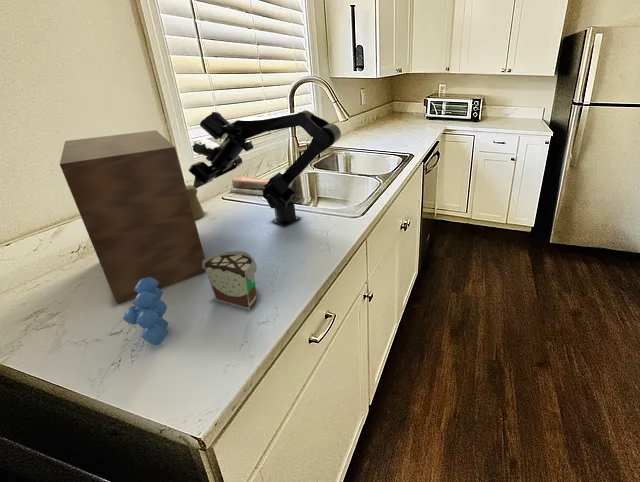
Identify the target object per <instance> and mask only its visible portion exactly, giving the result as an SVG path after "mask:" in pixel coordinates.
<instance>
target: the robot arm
mask: <svg viewBox="0 0 640 482" xmlns="http://www.w3.org/2000/svg"><path fill="white" fill-rule="evenodd" d="M199 126H200V127H201V128H202V129H203V130H204V131H205V132H206V133H207V134H208V135H210V136H211V137H212V138H213V139H214V140H215V141H216V140H220V141H222V140H223V141H222V142H221V144H220V145H219V144H218V143H217V142H214V141H212V140H210V139H208V138H203V139H199V140H197V141H195V142H194V144H193V145H192V146H191V147H192V152H194V153H196V154H198V155H203V156H205V160H207V162H210V164H211V165H208V164H207V163H206V162H205V161H198V162H195V163H193V164H191V165H190V166H189V167H188V172H189V173H190V174H191V175H193V176H194V180H193V186H194V187H195V188H197V189H198V188H200V187H202V186H205V185H206V184H209V183H211V182H213V181H214V180H215V179H218V178H219V177H221V176H224V175H226V174H227V173H229V172H231V171H233V170H236V169H237V168H239V167H240V166H241V165H242V164H243V158H242V157H241V156H240V154H241V153H242V152H243V150H244V151H245V152H249V151H251V150H253V149H254V144H253V141H252V140H248V139H251V138H253V137H256V136H258V135H261V134H263V133H267V132H271V131H272V132H273V131H278V130H283V129H290V128H294V127H301V128H302V129H303V130H304V131H305V132H306V134H308V136H310V137H311V138H312V139H311V140H310V143H309V145H308V147H307V148H306V149H305V150H304V151H303V152H302V153H301V154H300V155H299V156H298V157H297V158H296V160H294V162H293V163H292V164H291V165H290V166H289V167H287V169H286V170H285V171H284V172H283V173H281V172H280V171H279V172H277V173H275V174H274V175H273V176H271V177H270V178H269V179H270V180H269V181H268V183H266V184H265V185H264V186H263V187H265V188H264V189H263V195H262V196H263V198H264V199H265V201H266V202H267V204H268V206H269V208H270V209H273V210H274V214H275V215H274V216H275V218H273V219H272V221H271V222H273V223H275V224H277V225H279V226H280V225H281V226H283V227H286V226H288V225H291V224H293V223H295V222H297V221H298V220H301V217H300V216H297V214H296V207H295V203H294V200H296V199H297V195H298V193H297V192H296V191H295V190H294V189H293V188H292V187H293V184H294V182H295V180H296V179H297V178H298V177H299V176H300V175H301V174H302V173H303V172H304V171H305V170H306V169H307V168H308V167H309V166H310V164H312V163H313V162H314V160H316V158H317V157H318V156H319V155H320V154H322V153H324V152H325V151H326V150H327V149H329V148H330V147H332V146H333V145H334V144H335V143H337V142H338V141H339V140H340V139H341V137H342V132H341V129H340V128H339V126H338V125H336V124H334V123H329V122H328V121H327V120H325V119H323V118H321V117H319V116H317V115H315V114H314V113H312V112H311V111H309V110H301V111H298V112H293V113H288V114H282V115H281V114H280V115H275V116H270V117H261V116H260V117H259V116H248V117H245V118H241V119H237V120H235V121H233V122H229V121H228V120H227V119H226V118H225V117H224V116H223V115H222V114H221V113H220V112H219V111H218V110H216V111H212V112H211V113H210V114H208V115H207V116H206V117H205V118H203V119H202V120H201V121H200V122H199Z"/></svg>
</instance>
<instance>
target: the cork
mask: <svg viewBox="0 0 640 482" xmlns="http://www.w3.org/2000/svg"><path fill="white" fill-rule="evenodd" d="M193 185H194V184H193ZM193 185H192V184H188V185H185V186H186V189H187V193H188V197H189V201H190V204H191V208H192V212H193V215H194V219H195V221H196V220H200V219H202V218H204V217H205V212H204V209H203V207H202V205H201V202H200V200H199V197H198V195H197V194H198V188H195V187H194V186H193Z"/></svg>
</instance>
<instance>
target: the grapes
mask: <svg viewBox="0 0 640 482" xmlns="http://www.w3.org/2000/svg"><path fill="white" fill-rule="evenodd" d="M158 284H159V282H158V281H157V280H155V279H154V278H152V277H145V278H142V279H141V280H140V281H139V282H138V283H137V285H136V287H135V289H134V290H135V291H136V292H137V293H139V294H138V295H137V296H136V298H134V300H133V302H132V304H133V305H132V306H130V307H129V308H128V309H127V310H126V311H125V313H124V315H123V317H122V320H123V321H125V322H126V323H127V324H129V325H132V326H134V325H138V326H139V327H140V328H142V329H143V331H142V333H141V335H140V337H141V338H142V339H143V340H144V341H146V342H148V343H149V344H151V345H154V346H159V345H161V344H162V343H163V341H165V339H166V336H167V334H168V331H167V329H168V326H169V324H170V323H169V322H168V321H167V320H165V319H164V318H163V317H164V315H165V313H166V311H167V310H168V304H167V303H165V302H164V301H162V300H161V298H162V296H163V294H164V291H163V290H162V289H161V288H160V289H159V288H157V286H158Z"/></svg>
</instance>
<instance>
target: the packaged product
mask: <svg viewBox="0 0 640 482" xmlns="http://www.w3.org/2000/svg"><path fill="white" fill-rule="evenodd" d="M269 180H270V178H263V177H255V176H243V175H242V176H239V177H237V178H234V179H233V180H232V187H230V188H229V190H230V193H238V194H245V195H257V196H263V189H264V188H265V187H263V186H264V185H265V184H266V183H268V181H269Z"/></svg>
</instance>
